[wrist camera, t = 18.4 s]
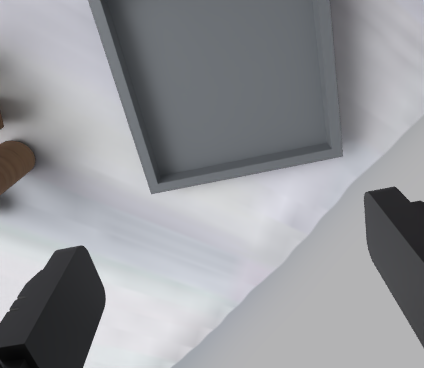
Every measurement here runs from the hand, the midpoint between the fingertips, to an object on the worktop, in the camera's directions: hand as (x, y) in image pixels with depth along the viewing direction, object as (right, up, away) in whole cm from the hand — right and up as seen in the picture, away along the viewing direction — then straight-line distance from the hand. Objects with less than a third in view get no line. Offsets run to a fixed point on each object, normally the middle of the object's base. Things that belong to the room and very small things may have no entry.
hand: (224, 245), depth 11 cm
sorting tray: (+1, +13, +27) cm, 30 cm away
